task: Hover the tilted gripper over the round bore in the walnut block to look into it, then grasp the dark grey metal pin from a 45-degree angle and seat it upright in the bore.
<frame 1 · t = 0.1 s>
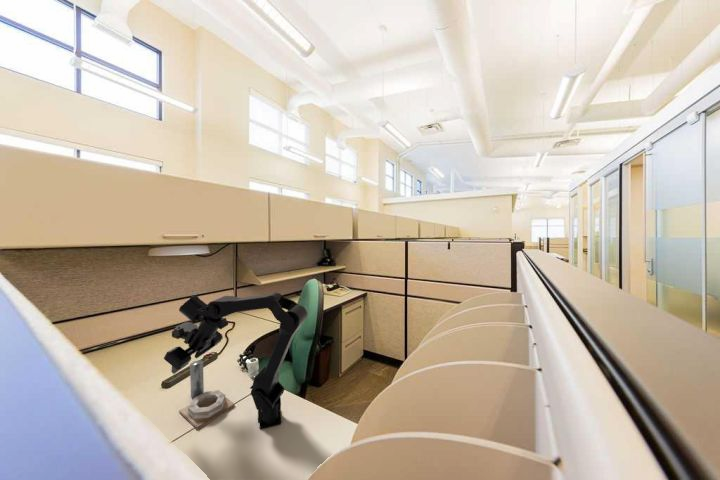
hand: (185, 364, 86), 15 cm above the table, tool tilted 35°, fingers open, 9 cm apart
valve: (249, 371, 108), on the table
metal pin: (197, 394, 93), on the table
bore block: (207, 409, 86), on the table
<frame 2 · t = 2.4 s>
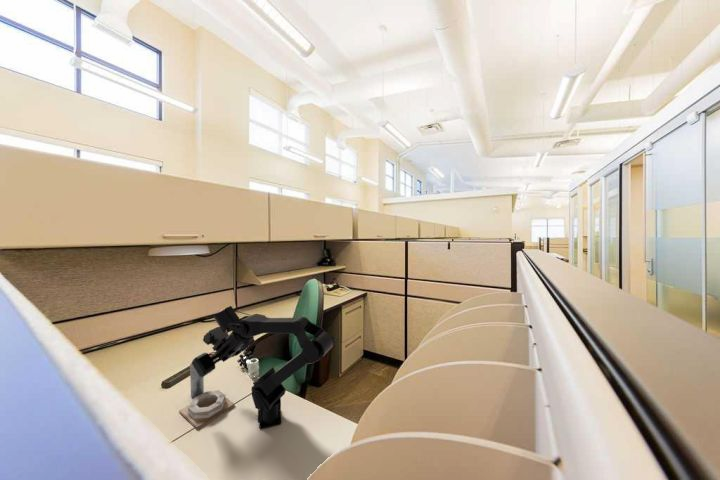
hand: (210, 366, 90), 12 cm above the table, tool tilted 45°, fingers open, 9 cm apart
nothing on the table moved.
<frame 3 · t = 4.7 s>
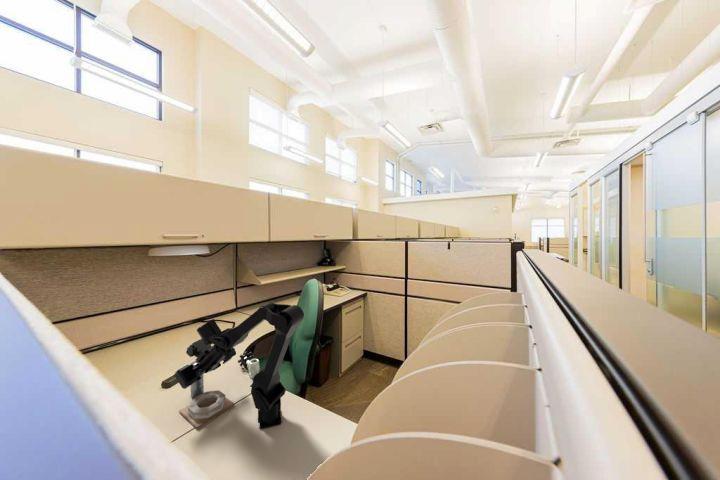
hand: (194, 376, 93), 7 cm above the table, tool tilted 45°, fingers closed on metal pin, 4 cm apart
metal pin: (197, 394, 93), on the table, touching gripper
everything else where it was.
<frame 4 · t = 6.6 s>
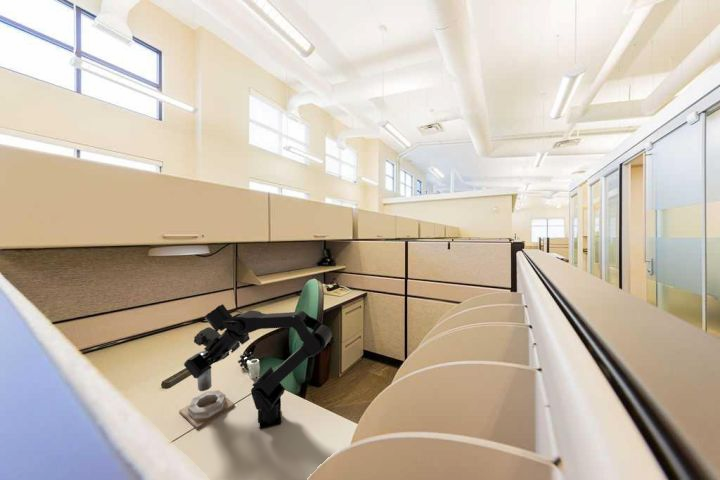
hand: (200, 368, 87), 13 cm above the table, tool tilted 45°, fingers closed on metal pin, 4 cm apart
metal pin: (204, 387, 87), point 7 cm above the table, touching gripper
everything else where it was.
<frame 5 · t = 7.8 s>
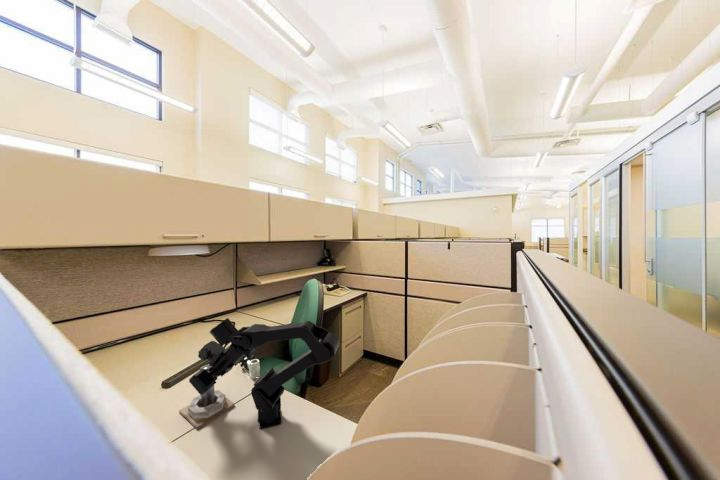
hand: (203, 382, 85), 9 cm above the table, tool tilted 45°, fingers closed on metal pin, 4 cm apart
metal pin: (207, 401, 86), point 3 cm above the table, touching gripper
when the fingers open (7 cm above the table, at t = 8.6 s): metal pin stays where it is, resting on bore block.
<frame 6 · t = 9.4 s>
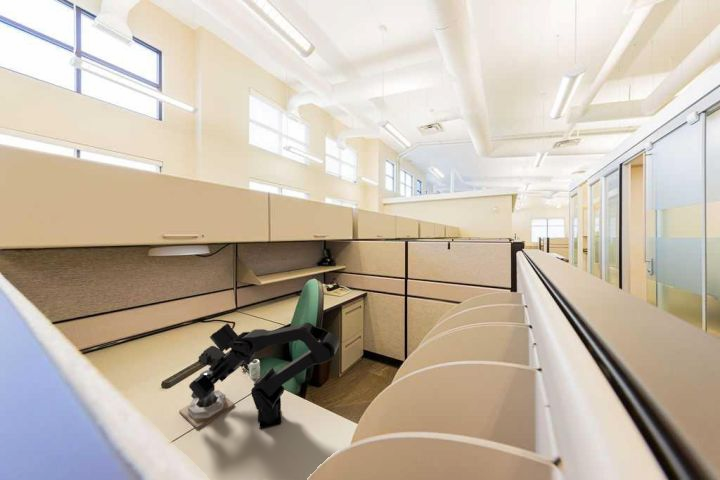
hand: (203, 387, 86), 8 cm above the table, tool tilted 45°, fingers open, 9 cm apart
metal pin: (207, 407, 86), point 1 cm above the table, touching bore block
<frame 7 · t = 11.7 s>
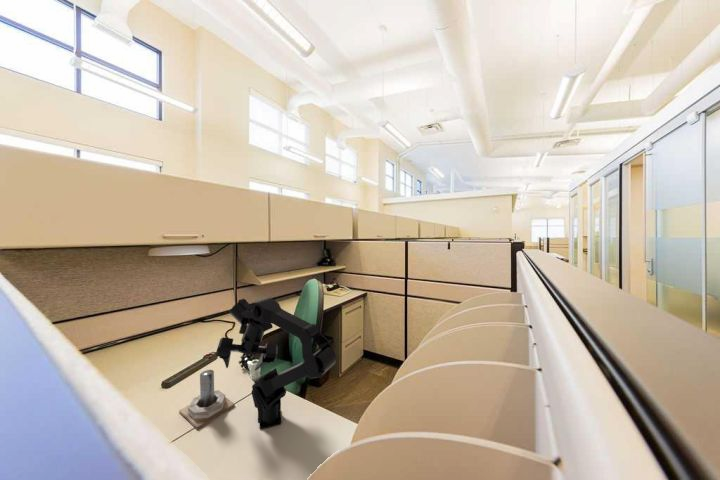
hand: (241, 368, 87), 13 cm above the table, tool tilted 25°, fingers open, 9 cm apart
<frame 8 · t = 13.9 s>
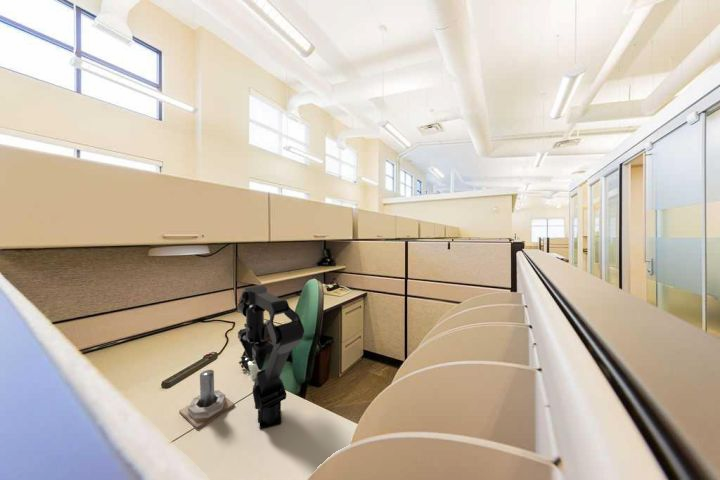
hand: (255, 363, 91), 13 cm above the table, tool pointing down, fingers open, 9 cm apart
at the end: metal pin 0.1 cm off-centre on the bore block, point 0.8 cm above the bore block's base; metal pin tilted 0°; the gripper is holding nothing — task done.
